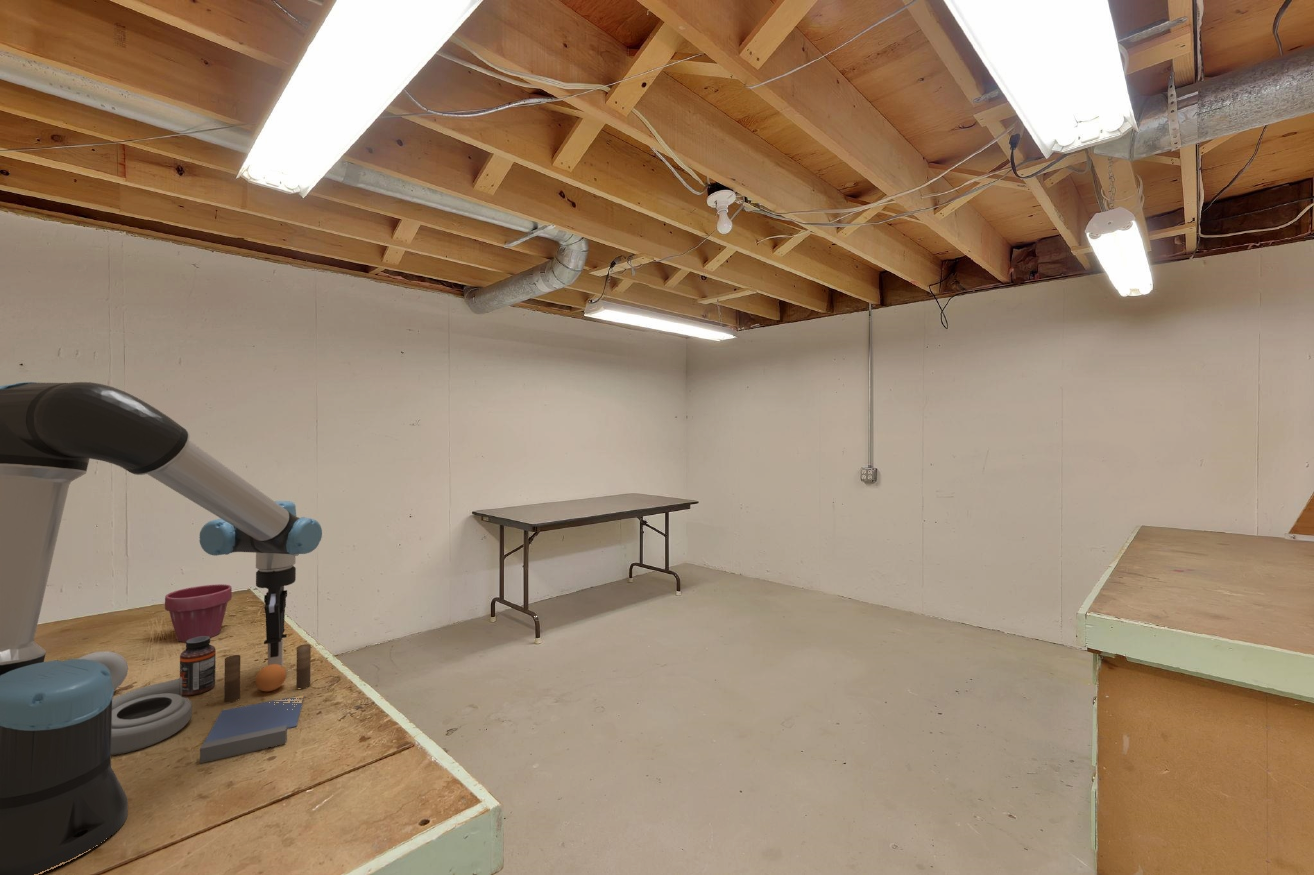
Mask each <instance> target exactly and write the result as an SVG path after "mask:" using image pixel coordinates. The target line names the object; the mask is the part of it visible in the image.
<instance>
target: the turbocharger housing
mask: <svg viewBox="0 0 1314 875" xmlns="http://www.w3.org/2000/svg"><path fill="white" fill-rule="evenodd" d="M192 716H193V703H192V701H191V700H190V699H189V698H188V697H183V695H182V677H180V676H179V678H176V679H172V680H168V681H164V682H159V683H155V684H150V685H147V686H142V687H138V688H135V689H133V690H130V691H128V692H124V693H122V694H119V695H117V696H116V697H113V698H112V731H111V756H115V755H116V756H118V755H121V754H122V755H123V754H127V753H131V752H135V751H139V750H143V749H145V748H147V747H150V746H153V745H156V744H158V743H159V742H163V741H164V740H166V739H168V738H170V737H171V736H174V735H175V734H176V733H178V732H179V731H181V730H182V729H183V728H184V727H185V726H187V724H188V723H189V722H190V721H191V719H192Z"/></svg>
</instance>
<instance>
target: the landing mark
mask: <svg viewBox="0 0 1314 875" xmlns="http://www.w3.org/2000/svg"><path fill="white" fill-rule="evenodd" d="M289 698H290V697H285V698H281V699H282V700H285V699H286V700H287V699H289ZM290 699H291V700H292V699H293V700H294V699H296V698H290ZM297 699H298V698H297ZM299 699H301V698H299ZM303 699H305V697H304V698H303ZM278 700H280V699H278ZM269 702H270V703H269ZM274 702H275V703H274ZM276 702H279V703H276ZM283 702H288V701H274V700H270V701H264V702H259V703H253V704H249V705H248V704H247V705H242V706H239V707H238V706H237V707H233V708H228V709H223V710H222V709H221V712H220V713H219V715H218V717H217V719H216V721H215V722H214V723H213V724H214V725H213V726H212V728H211V729H210V731H209V733H208V735H207V737H206V738H205V740H204V742H203V743H205V742H210V741H215V740H219V739H224V738H229V737H233V736H238V735H243V734H248V733H252V732H257V731H262V730H267V729H271V728H276V727H281V726H285V725H287V730H288V728H289V729H292V727H293V728H297V727H298V726H297V725H298V723H299V718H300V715H299V714H301V711H300V710H302V707H303V703H292V702H294V701H290V703H283ZM295 702H297V701H295ZM298 702H299V701H298ZM274 704H275V705H274ZM283 704H284V705H283ZM292 704H293V705H292ZM294 704H295V705H294ZM296 704H297V705H296ZM294 706H295V707H294ZM301 706H302V707H301ZM287 709H288V710H287ZM292 709H293V710H292Z"/></svg>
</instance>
